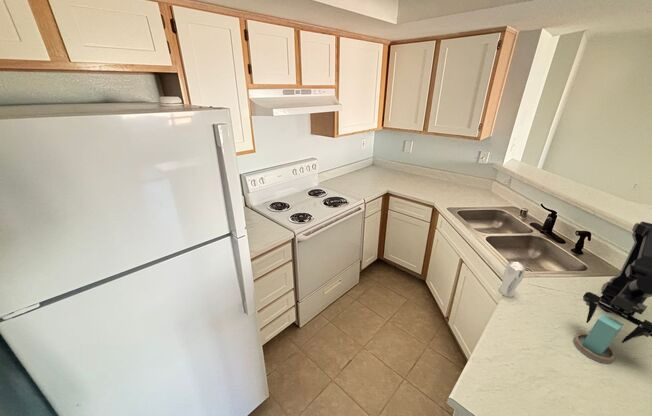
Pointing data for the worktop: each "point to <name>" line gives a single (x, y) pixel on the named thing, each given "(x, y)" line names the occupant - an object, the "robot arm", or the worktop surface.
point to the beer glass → (511, 278)
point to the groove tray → (604, 358)
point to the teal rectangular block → (602, 334)
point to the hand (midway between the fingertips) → (603, 332)
